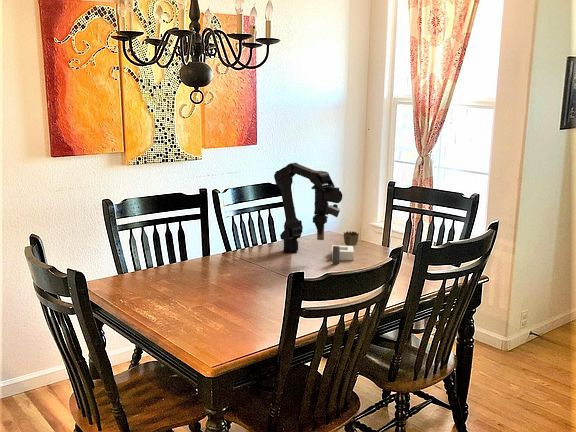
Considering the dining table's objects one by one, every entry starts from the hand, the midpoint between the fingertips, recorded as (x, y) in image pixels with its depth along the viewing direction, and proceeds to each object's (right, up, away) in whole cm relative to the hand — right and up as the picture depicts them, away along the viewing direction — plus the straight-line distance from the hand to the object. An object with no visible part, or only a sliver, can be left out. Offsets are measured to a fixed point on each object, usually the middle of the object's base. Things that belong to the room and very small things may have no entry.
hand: (320, 233), depth 267 cm
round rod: (+7, -13, -2) cm, 15 cm away
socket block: (+11, -11, +8) cm, 17 cm away
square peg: (0, -2, +1) cm, 2 cm away
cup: (+16, -8, +22) cm, 28 cm away
